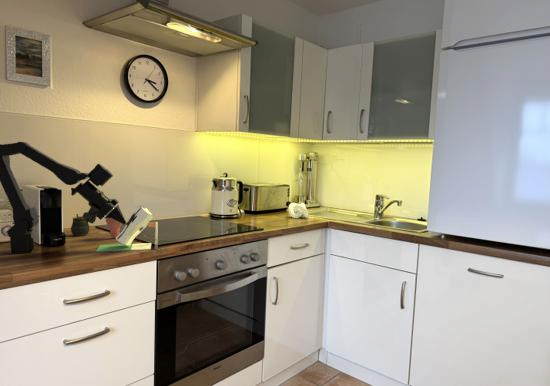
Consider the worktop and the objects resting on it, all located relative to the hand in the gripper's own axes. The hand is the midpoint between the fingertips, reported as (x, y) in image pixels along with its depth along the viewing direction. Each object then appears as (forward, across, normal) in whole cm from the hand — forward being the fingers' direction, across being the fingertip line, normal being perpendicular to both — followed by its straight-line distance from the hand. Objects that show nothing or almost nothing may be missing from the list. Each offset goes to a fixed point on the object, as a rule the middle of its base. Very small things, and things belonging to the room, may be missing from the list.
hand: (125, 223), depth 146 cm
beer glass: (+4, 0, -6) cm, 7 cm away
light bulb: (+2, -19, -11) cm, 22 cm away
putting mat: (+7, 0, -6) cm, 9 cm away
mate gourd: (-8, -28, -21) cm, 36 cm away
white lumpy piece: (+74, -63, +59) cm, 114 cm away
